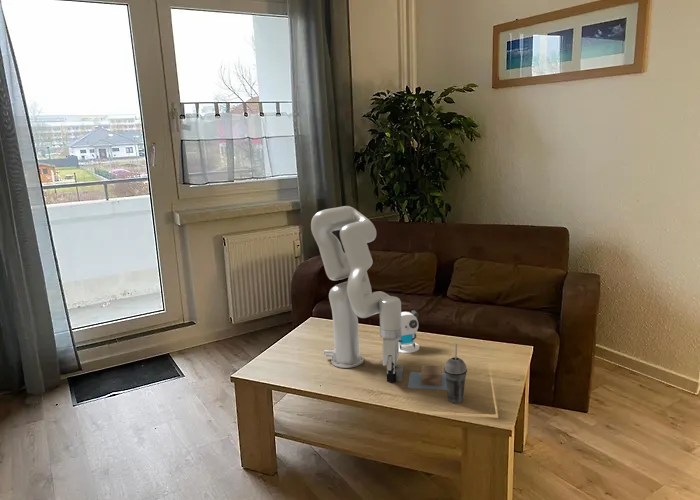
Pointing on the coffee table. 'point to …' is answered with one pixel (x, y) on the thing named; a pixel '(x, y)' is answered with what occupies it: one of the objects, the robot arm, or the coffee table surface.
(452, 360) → the beverage cup
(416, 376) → the blue board
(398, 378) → the grey symbol cube
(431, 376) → the light brown plinth
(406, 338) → the panda figurine
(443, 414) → the coffee table surface
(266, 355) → the coffee table surface
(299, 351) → the coffee table surface
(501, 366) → the coffee table surface
